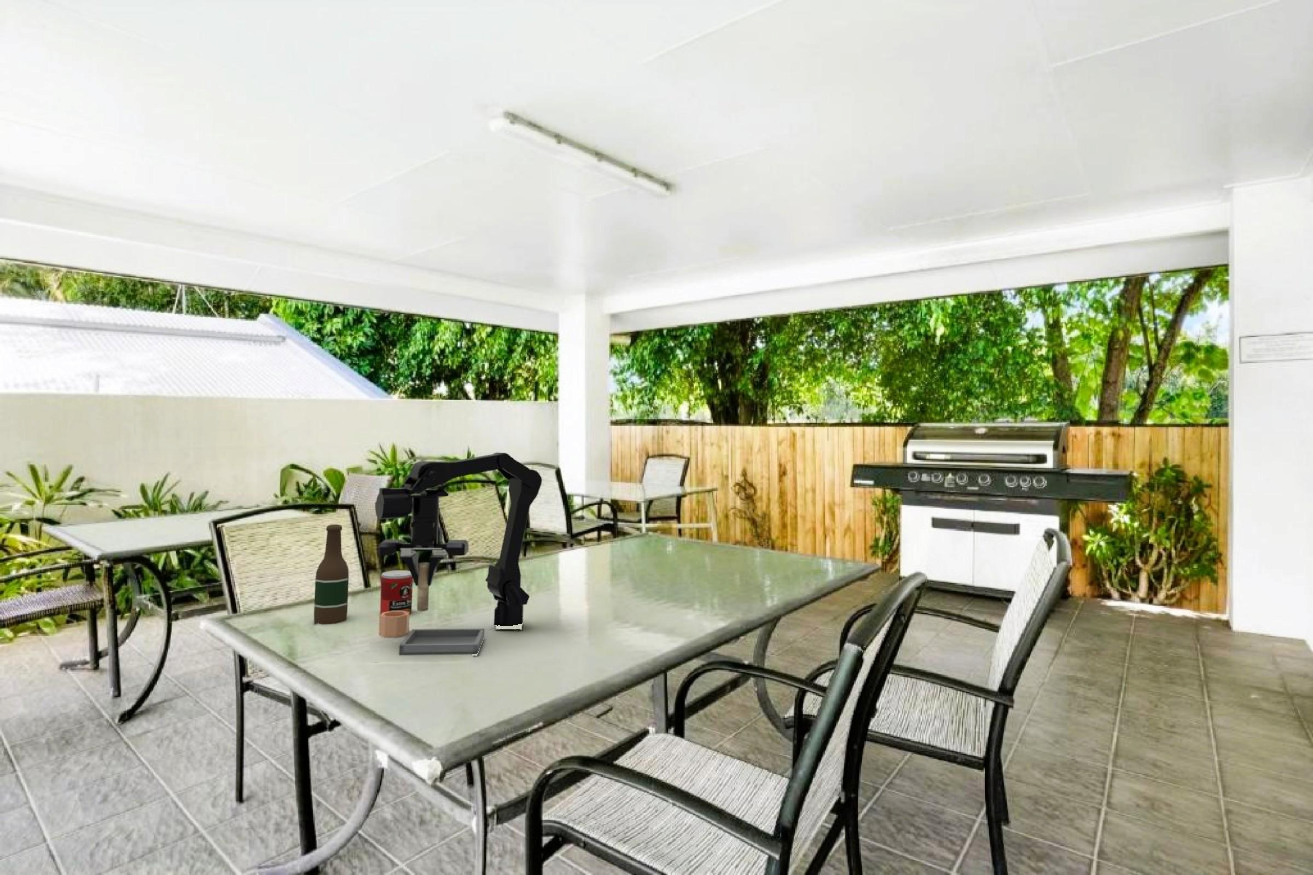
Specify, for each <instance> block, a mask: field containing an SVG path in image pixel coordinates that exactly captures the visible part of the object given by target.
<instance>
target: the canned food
mask: <svg viewBox="0 0 1313 875" xmlns="http://www.w3.org/2000/svg"><path fill="white" fill-rule="evenodd" d="M380 578H381V579H380V605H379V606H380V607H379V608H380V609H379V616H380V615H381V614H382V613H383V612H388V611H406V612H409V616H410V615H411V614H412V612H413V611H412V607H413V583H414V580H413V578H412V575H411V573H410V570H405V569H404V570H403V569H402V570H399V569H398V570H388V571H384V572H382V573H381V576H380Z"/></svg>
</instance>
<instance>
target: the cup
mask: <svg viewBox="0 0 1313 875" xmlns="http://www.w3.org/2000/svg"><path fill="white" fill-rule="evenodd" d="M378 625H379V628H378V636H381V637H383V638H398V637H403V636H407V635H408V634H409V633H410V615H409V612H406V611H388V612H383V613H382V614H381V615H380V614H379V623H378Z"/></svg>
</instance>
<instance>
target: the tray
mask: <svg viewBox="0 0 1313 875" xmlns="http://www.w3.org/2000/svg"><path fill="white" fill-rule="evenodd" d="M483 638H484V639H485V628H421V629H420V628H418V629H416V628H412V630H411V631H409V632H408V633H407V635H406V636H405V638H404V640H402V641H401V643H400V644H399V646H398V648H399V649H398V650H399V652H398V655H399V656H425V655H426V656H427V655H429V656H433V655H434V656H435V655H437V656H439V655H440V656H441V655H447V656H448V655H472V654H477V653H478V651H479V648H480V646H481V643H482V641H483ZM483 642H484V641H483ZM482 644H483V643H482ZM481 647H482V646H481ZM480 649H481V648H480ZM479 652H480V651H479ZM478 654H479V653H478Z"/></svg>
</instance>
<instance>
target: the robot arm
mask: <svg viewBox="0 0 1313 875" xmlns="http://www.w3.org/2000/svg"><path fill="white" fill-rule="evenodd" d="M492 471H497V472H499V474H500V475H501V476H502V477H503V478H504V479H506V480H507V482H508V493H509V499H510V507H509V512H508V515H507V521H506V524H505V525H506V526H505V530H504V534H503V535H504V536H503V541H502V544H501V549H500V554H499V558H498V560H497V562H496V563H495V565H492V564H489V565H488V573H487V576H486V578H485V582H486V585H487V586H486V587H487V589H488V590H489V591H488V592H490V593H491V594H492V597H493V599H494V600H495V601H497V603H496V607H494V610H493V611H494V612H493V613H494V614H493V626H494V625H497V626H498V625H500V626H513V625H518V624H522V623H523V621H524V605H525V606H526V605H528V602H529V598H530V595H529V594H528V592H526V591H525V589H523V588H522V587H521V582H522V581H521V579H522V578H521V577H522V572H521V568H520V564H519V563H520V556H521V552H522V547H523V544H524V543H523V542H524V537H525V532H526V527H527V522H528V518H529V512H530V508H531V505H532V504H533V502H534V501H535V500H536V498H537V496H538V494H539V492H540V489H541V486H542V482H543V477H542V476H541V474H540V473H539V472H538V471H537V470H535V469H530V468H529V467H527V466H526V465H525V464H523V463H522V462H519V461H518V460H516V459H515V458H514V457H512V456H511V455H510V454H508V453H507V452H494V453H492V454H491V453H490V454H487V455H486V454H485V455H481V456H474V457H468V458H463V459H457V460H451V461H440V460H439V461H438V460H437V461H435V460H434V461H430V460H429V461H428V460H425V461H424V460H422V461H421V460H420V461H418V462H415V463H413V465H412V467H411V468H410V472H409V475H408V476H407V478H406V479H405V480H404V482H403V483H402V484H401V486H400V487H399V488H398V487H397V488H395V487H392V488H389V487H379V489H378V490H379V491H378V494H377V495H376V496H377V497H376V501H375V503H374V508H375V509H374V510H375V515H376V518H377V519H378V520H386V519H387V520H389V519H404V518H407V517H408V515H410V514H411V522H410V527H411V528H410V535H409V536H410V542H404V541H403V539H396V538H394V539H393V538H391V539H385V540H383V541H382V542H380V543H379V544H378V547H377V548H378V549H377V551H378V552H377V555H378V556H393V555H394V554H396V552H400V556H399V557H398V558H399V560H403V561H404V563H405V564H406V566H407V569H408V571H410V573H411V575H412V578H413V583H414V584H415V586H416V587H418V563H419V556H420V555H419V554H420V553H419V552H425V553H426V552H429V553H430V552H432V555H430V556H429V562H428V563H429V573H428V586H429V587H430V586H431V585H432V584H433V581H434V578H435V575H436V572H437V570H438V567H439V565H440V563H441V561H442V560H443V559H445V558H446V557H448V556H450V557H451V556H454V557H457V556H459V557H461V556H466V555H467V554H468V552H469V548H470V547H469V542H468V540H466V539H451V540H449V541H447V543H443V533H444V530H443V529H442V528H441V527H440V520H439V513H440V512H439V510H440V497H442V498H443V497H448V496H449V493H448V492H447V491H446V490H445V489H444V488H443V486H441V485H443V484H446V483H449V482H450V481H451V480H454V479H456V478H461V477H465V476H466V477H467V476H470V475H474V474H482V473H486V472H492ZM428 488H429V489H428Z"/></svg>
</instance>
